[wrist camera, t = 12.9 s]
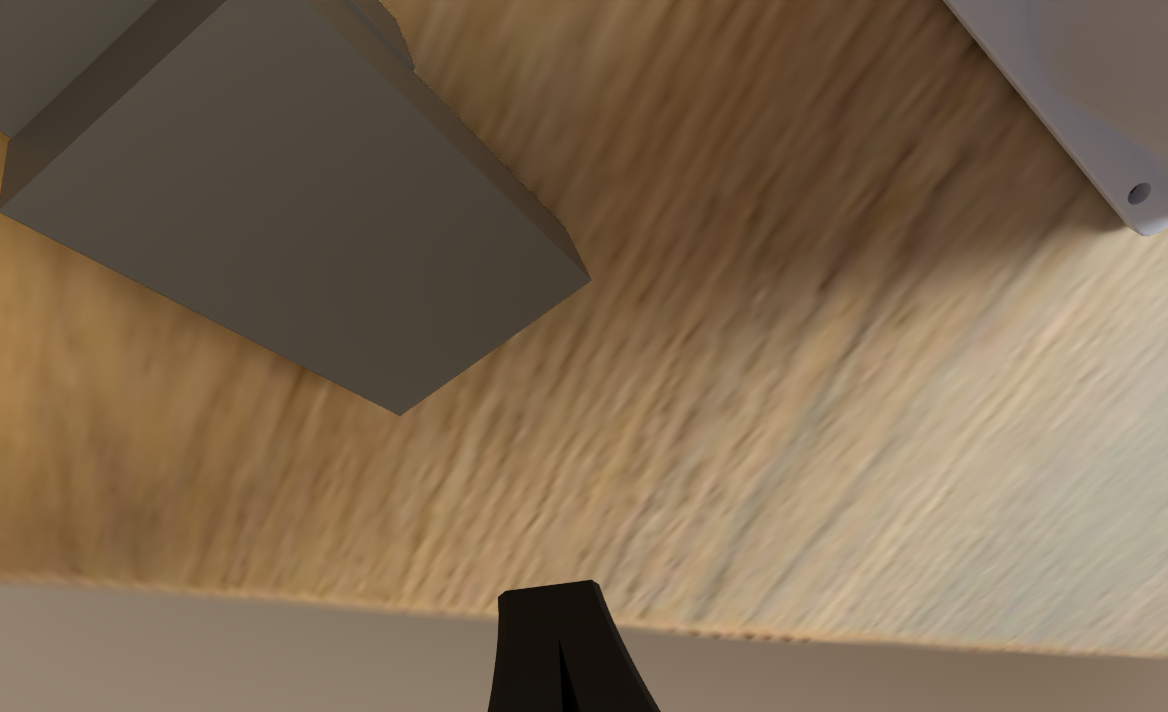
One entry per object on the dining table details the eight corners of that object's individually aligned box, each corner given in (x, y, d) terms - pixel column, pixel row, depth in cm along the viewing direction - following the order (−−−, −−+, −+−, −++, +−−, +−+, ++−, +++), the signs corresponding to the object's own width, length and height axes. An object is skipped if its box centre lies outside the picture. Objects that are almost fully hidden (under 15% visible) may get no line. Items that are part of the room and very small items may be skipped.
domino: (591, 280, 16) (267, -38, 10) (400, 416, 17) (-2, 211, 11) (565, 228, 17) (254, -92, 10) (385, 360, 18) (8, 142, 12)
